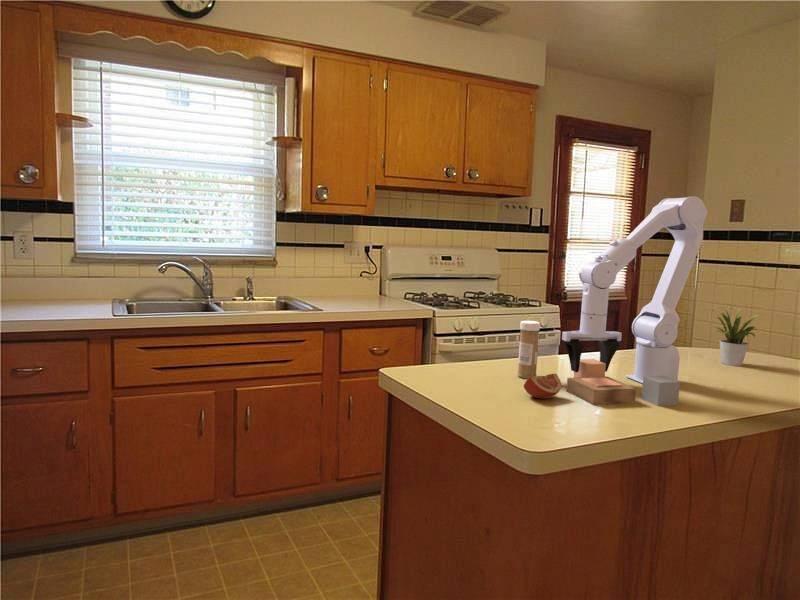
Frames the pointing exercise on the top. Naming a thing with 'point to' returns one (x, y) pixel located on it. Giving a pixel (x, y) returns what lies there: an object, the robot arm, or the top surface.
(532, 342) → the sprinkles bottle
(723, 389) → the top surface
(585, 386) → the walnut plinth
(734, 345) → the house plant
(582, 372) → the terracotta cube
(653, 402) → the slate cube
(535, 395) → the fruit slice
